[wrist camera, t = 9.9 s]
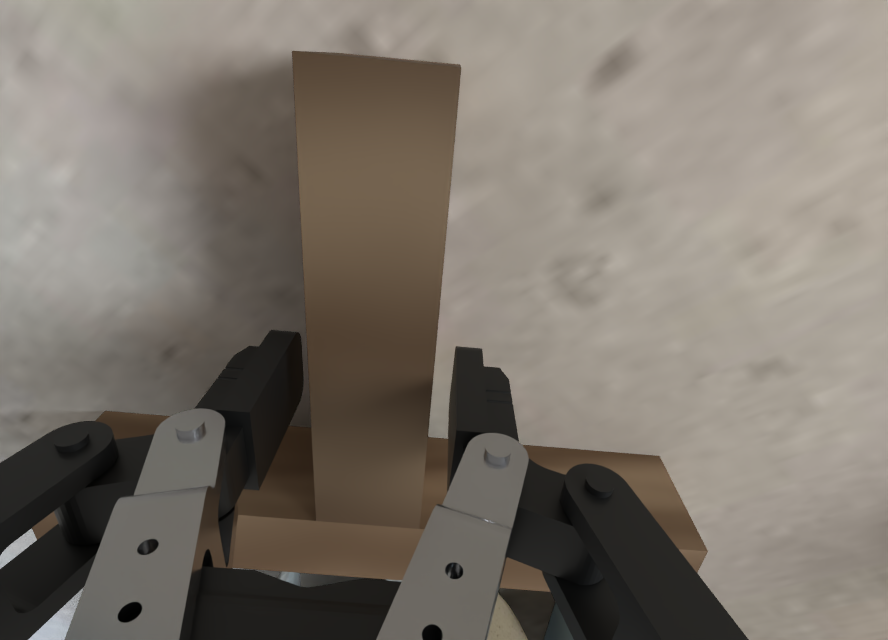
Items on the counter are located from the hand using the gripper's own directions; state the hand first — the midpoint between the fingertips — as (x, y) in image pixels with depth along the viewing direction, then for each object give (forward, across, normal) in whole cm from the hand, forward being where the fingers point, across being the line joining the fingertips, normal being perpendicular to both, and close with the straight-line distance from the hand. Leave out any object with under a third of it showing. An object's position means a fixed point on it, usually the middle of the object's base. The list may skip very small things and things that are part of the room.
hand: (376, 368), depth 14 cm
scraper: (+2, 0, -1) cm, 2 cm away
